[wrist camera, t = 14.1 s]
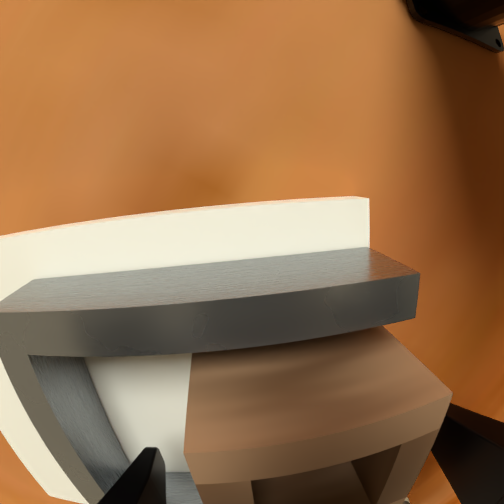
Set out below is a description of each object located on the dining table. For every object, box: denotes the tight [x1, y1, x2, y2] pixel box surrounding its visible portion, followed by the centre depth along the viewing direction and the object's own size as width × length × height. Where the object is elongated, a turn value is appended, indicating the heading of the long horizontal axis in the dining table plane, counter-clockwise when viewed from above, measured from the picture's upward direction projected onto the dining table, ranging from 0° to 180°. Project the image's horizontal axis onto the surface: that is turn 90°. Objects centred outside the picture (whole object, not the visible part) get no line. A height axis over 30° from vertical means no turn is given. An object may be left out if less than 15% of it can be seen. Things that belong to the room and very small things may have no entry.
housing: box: [0, 247, 420, 504], centre depth 9 cm, size 11×11×3 cm
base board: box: [0, 196, 370, 504], centre depth 10 cm, size 18×16×4 cm
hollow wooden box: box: [183, 326, 453, 504], centre depth 8 cm, size 6×6×5 cm
